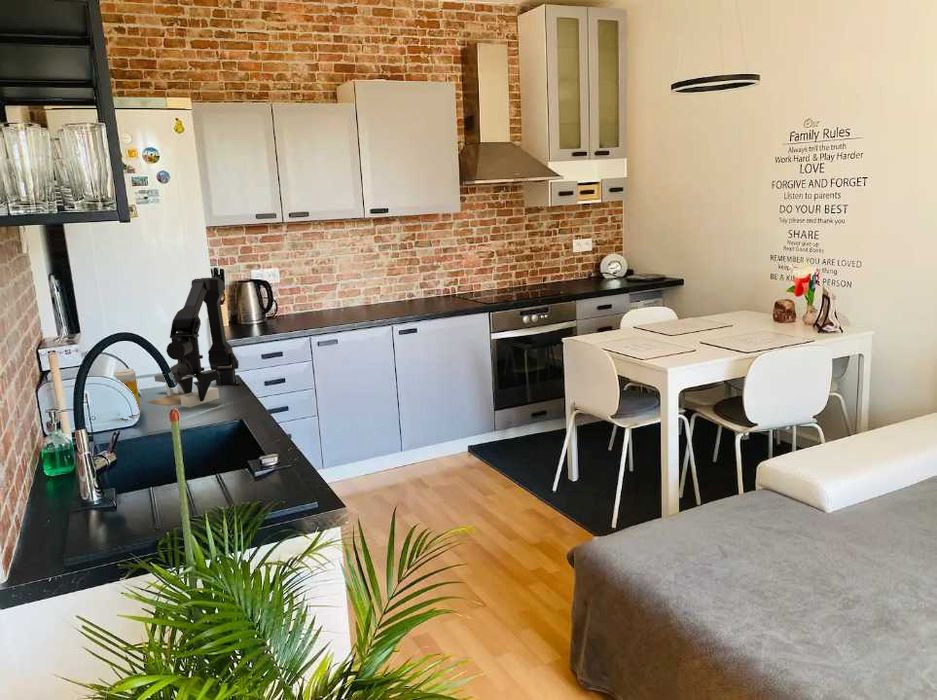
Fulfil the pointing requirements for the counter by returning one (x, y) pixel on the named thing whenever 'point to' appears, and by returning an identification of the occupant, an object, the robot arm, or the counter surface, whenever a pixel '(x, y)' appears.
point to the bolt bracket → (171, 392)
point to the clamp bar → (160, 378)
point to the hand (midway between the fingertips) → (195, 400)
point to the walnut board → (167, 400)
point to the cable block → (193, 397)
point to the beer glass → (128, 381)
